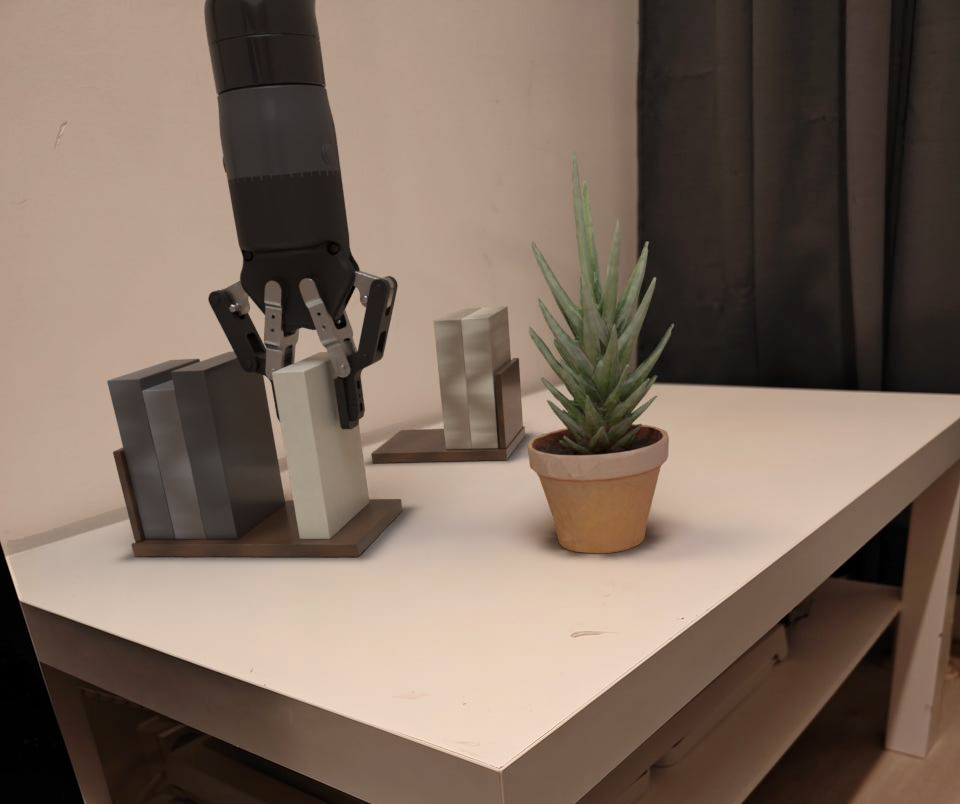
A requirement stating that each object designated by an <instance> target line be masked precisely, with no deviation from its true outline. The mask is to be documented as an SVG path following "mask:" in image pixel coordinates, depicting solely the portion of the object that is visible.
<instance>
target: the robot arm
mask: <svg viewBox="0 0 960 804" xmlns="http://www.w3.org/2000/svg"><path fill="white" fill-rule="evenodd" d="M316 3H317V0H205V2H204V6H203V14H204V16H203V17H204V26H205V32H206V33H205V34H206V40H207V47H208V53H209V58H210V64H211V70H212V71H211V72H212V75H213V81H214V87H215V93H216V95H217V96H216V98H217V107H218V128H219V139H220V144H221V151H222V166H223V169H224V172H225V174H226V179H227V184H228V190H229V197H230V203H231V208H232V212H233V213H232V214H233V221H234V225H235V231H236V236H237V237H236V238H237V242H238V247H239V249H240V252H241V255H242V267H241V270H240V275H239V281H236V282H235V283H233V284H231V285H228V286H227V287H226V288H220V289H217V290H213V291H211V292H210V293H209V295H208V303H209V306H210V309H212V311H213V314H214V315H215V318H216V320H217V321H218V323H219V325H220V327H221V329H222V331H223V333H224V335H225V337H226V339H227V341H228V343H229V344H230V347H231V349H232V350H233V351H234V352H235V354H236V356H237V358H238V360H239V362H240V364H241V366H242V368H243V369H244V371H246V372H248V373H252V372H256V373H259V374H262V375H263V377H266V378H267V379H268V380H269V382H270V385H271V390H272V391H271V392H272V397H273V403H274V410H275V413H276V414H275V415H276V418H277V420H278V422H279V423H280V419H279V413H278V407H277V401H276V395H275V389H274V383H273V377H272V373H273V372H275V371H277V370H280V369H282V368H284V367H287V366H289V365H291V364H294V363H295V362H296V361H295V359H296V346H297V344H298V342H299V339H300V338H299V337H300V329H307V330H311V331H316V333H317V336H318V339H319V341H320V344H321V345H322V346H323V347H324V348H325V349H326V352H328V355H329V357H330V360H331V363H332V366H333V368H334V371H335V373H336V374H337V375H338V377H337V378H335V379H334V385H335V392H336V399H337V406H338V413H339V420H340V426H341V428H342V429H343V430H345V429H353V428H355V427H356V426H357V425H358V424H359V425H360V420H361V419H362V418H364V416H365V412H366V407H365V399H364V391H363V384H362V383H363V382H362V372H363V370H364V369H366V368H368V367H370V366H372V365H374V364H376V363H378V362H380V361H381V360H382V359H383V357H384V355H385V350H386V346H387V345H386V344H387V340H388V336H389V330H390V326H391V320H392V316H393V310H394V306H395V302H396V297H397V292H398V287H399V284H398V281H397V279H396V278H395V277H393V276H392V275H386V276H377V275H374V274H371V273H368V272H365V271H362V270H361V269H360V266H359V264H358V262H357V261H356V259H355V257H354V255H353V254H352V251H351V246H350V244H351V243H350V231H349V223H348V217H347V216H348V215H347V208H346V199H345V193H344V185H343V177H342V168H341V161H340V153H339V146H338V138H337V137H338V136H337V131H336V125H335V120H334V116H333V113H332V109H331V105H330V101H329V97H328V95H329V94H328V90H327V84H326V83H327V82H326V75H325V69H324V61H323V52H322V51H323V50H322V44H321V36H320V31H319V24H318V21H317V13H316V5H317V4H316ZM356 289H357V290H358V293H359V301H360V304H361V305H362V307H364V308H365V311H364V316H363V322H362V326H361V332H360V337H359V341H358V347H357V346H356V343H355V340H354V330H353V327H352V325H351V322H350V319H349V316H348V313H347V311H346V309H347V307H348V305H349V302H350V300H351V298H352V296H353V294H354V292H355V291H356ZM249 299H251V301H252V302H253V303H254V305H256V307H257V308H258V309H259V310H260V312H261V313H262V314H263V315H264V326H263V327H264V329H263V340H262V338H261V336H260V334H259V332H258V330H257V328H256V326H255V324H254V322H253V320H252V318H251V316H250V314H249V312H250V310H251V304H250V302H249Z"/></svg>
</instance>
